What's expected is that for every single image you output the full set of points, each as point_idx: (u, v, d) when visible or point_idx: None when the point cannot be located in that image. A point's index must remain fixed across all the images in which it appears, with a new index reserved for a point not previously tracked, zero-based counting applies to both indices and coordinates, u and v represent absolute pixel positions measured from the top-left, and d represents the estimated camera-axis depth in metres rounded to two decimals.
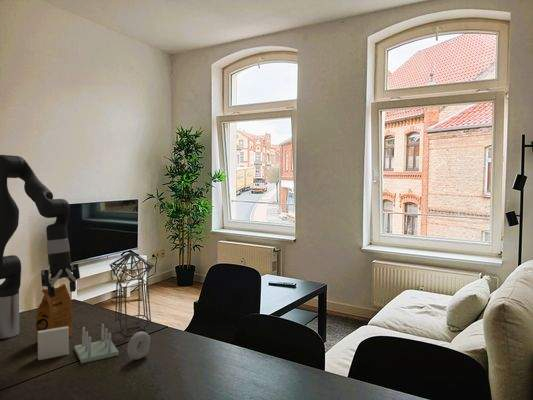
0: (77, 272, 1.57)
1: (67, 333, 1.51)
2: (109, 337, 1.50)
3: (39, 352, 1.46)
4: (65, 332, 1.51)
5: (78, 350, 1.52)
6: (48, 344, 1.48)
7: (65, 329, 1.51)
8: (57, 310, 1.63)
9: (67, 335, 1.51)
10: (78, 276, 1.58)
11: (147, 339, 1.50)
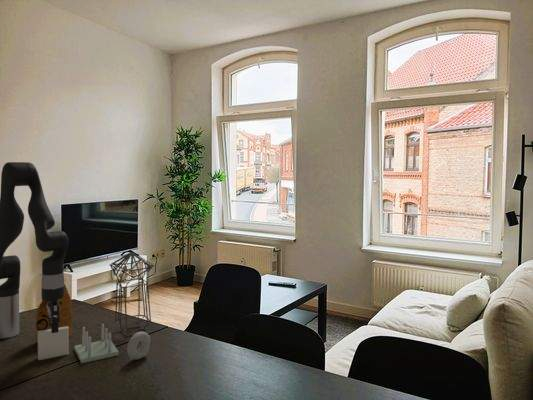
0: None
1: (67, 333, 1.51)
2: (109, 337, 1.50)
3: (39, 352, 1.46)
4: (65, 332, 1.51)
5: (78, 350, 1.52)
6: (48, 344, 1.48)
7: (65, 329, 1.51)
8: None
9: (67, 335, 1.51)
10: None
11: (147, 339, 1.50)
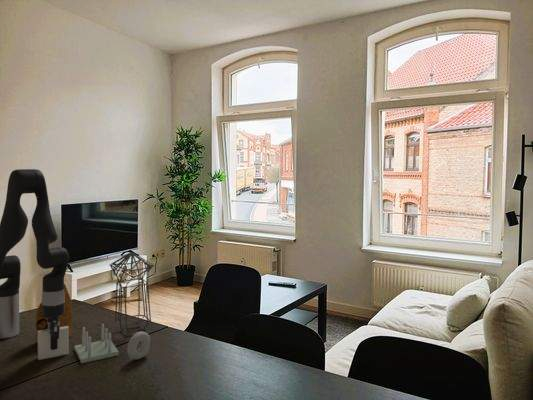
0: None
1: (67, 333, 1.51)
2: (109, 337, 1.50)
3: (39, 352, 1.46)
4: (65, 332, 1.51)
5: (78, 350, 1.52)
6: (48, 344, 1.48)
7: (65, 329, 1.51)
8: None
9: (67, 335, 1.51)
10: None
11: (147, 339, 1.50)
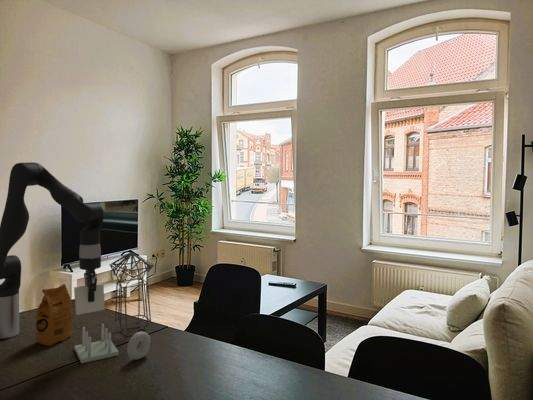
0: None
1: (102, 289, 1.55)
2: (109, 337, 1.50)
3: (77, 307, 1.51)
4: (100, 288, 1.55)
5: (78, 350, 1.52)
6: (85, 299, 1.52)
7: (100, 285, 1.55)
8: (57, 310, 1.63)
9: (103, 291, 1.56)
10: None
11: (147, 339, 1.50)
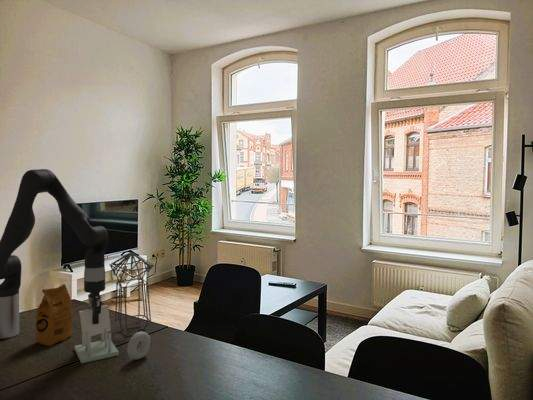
0: None
1: (107, 311, 1.57)
2: (109, 337, 1.50)
3: (83, 331, 1.52)
4: (105, 310, 1.57)
5: (78, 350, 1.52)
6: (91, 322, 1.54)
7: (104, 307, 1.56)
8: (57, 310, 1.63)
9: (107, 313, 1.57)
10: None
11: (147, 339, 1.50)
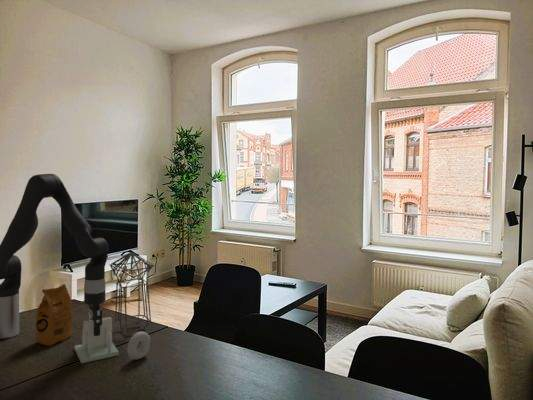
0: None
1: (111, 323, 1.58)
2: (109, 337, 1.50)
3: None
4: (109, 322, 1.57)
5: (78, 350, 1.52)
6: None
7: (109, 320, 1.58)
8: (57, 310, 1.63)
9: (111, 326, 1.58)
10: None
11: (147, 339, 1.50)
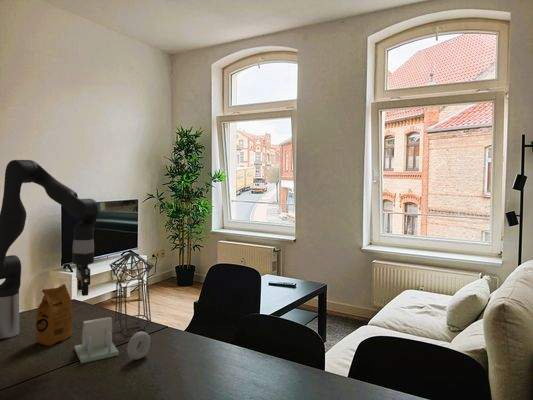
0: None
1: (111, 323, 1.58)
2: (109, 337, 1.50)
3: None
4: (109, 322, 1.57)
5: (78, 350, 1.52)
6: (94, 333, 1.55)
7: (109, 320, 1.58)
8: (57, 310, 1.63)
9: (111, 326, 1.58)
10: None
11: (147, 339, 1.50)
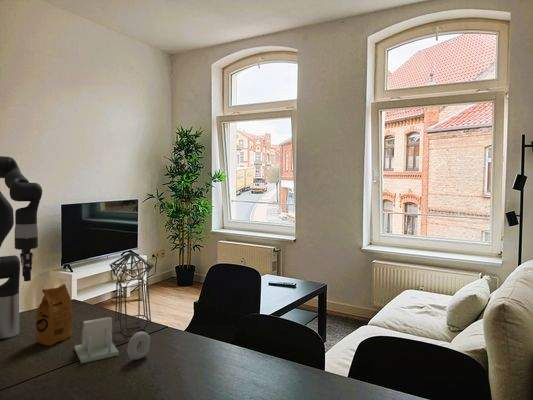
0: None
1: (111, 323, 1.58)
2: (109, 337, 1.50)
3: None
4: (109, 322, 1.57)
5: (78, 350, 1.52)
6: (94, 333, 1.55)
7: (109, 320, 1.58)
8: (57, 310, 1.63)
9: (111, 326, 1.58)
10: None
11: (147, 339, 1.50)
